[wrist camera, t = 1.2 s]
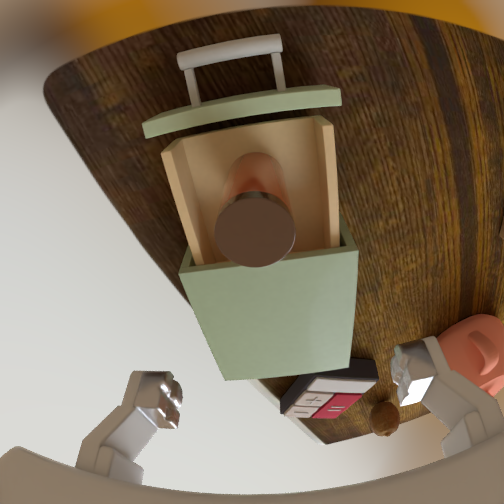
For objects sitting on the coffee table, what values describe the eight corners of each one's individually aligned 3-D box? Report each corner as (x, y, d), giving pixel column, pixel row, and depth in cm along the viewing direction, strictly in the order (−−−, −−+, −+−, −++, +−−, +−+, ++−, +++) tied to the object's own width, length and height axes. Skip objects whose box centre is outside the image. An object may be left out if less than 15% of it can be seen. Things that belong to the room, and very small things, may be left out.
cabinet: (192, 232, 30) (178, 273, 24) (340, 211, 28) (358, 250, 23) (228, 339, 39) (225, 380, 34) (339, 326, 37) (348, 367, 32)
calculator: (279, 418, 46) (315, 379, 37) (279, 396, 49) (312, 353, 40) (336, 420, 47) (381, 383, 38) (333, 400, 51) (376, 359, 42)
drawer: (150, 65, 20) (126, 66, 16) (317, 34, 18) (331, 27, 14) (205, 263, 31) (197, 294, 27) (337, 245, 29) (348, 276, 25)
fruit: (384, 409, 53) (391, 440, 47) (360, 409, 53) (366, 443, 46) (400, 394, 50) (409, 428, 43) (376, 395, 49) (384, 431, 43)
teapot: (485, 360, 46) (507, 410, 34) (418, 391, 50) (433, 447, 39) (505, 280, 33) (547, 344, 22) (415, 323, 37) (447, 402, 26)
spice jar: (222, 156, 23) (205, 205, 16) (280, 147, 23) (291, 192, 15) (234, 207, 26) (224, 272, 18) (287, 199, 25) (299, 262, 18)
